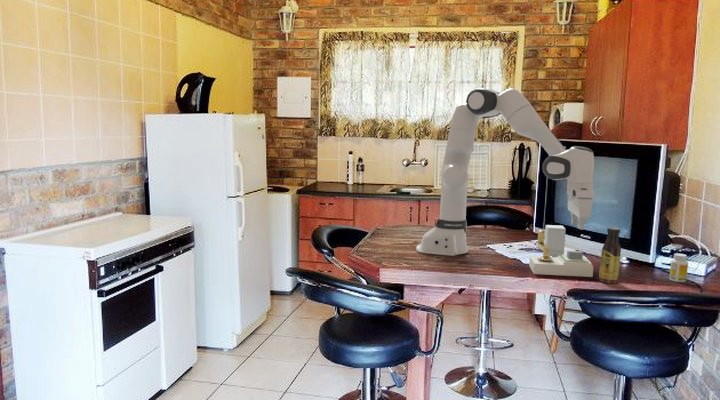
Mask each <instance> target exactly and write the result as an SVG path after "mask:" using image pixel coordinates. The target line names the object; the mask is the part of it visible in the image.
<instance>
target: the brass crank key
mask: <svg viewBox="0 0 720 400" xmlns="http://www.w3.org/2000/svg"><path fill="white" fill-rule="evenodd" d="M537 233H538V234H537V247H538V248H539V249H540V250H541V251H543V254H542V256H539V257H540V260H541V261H546V262H549V261H551V258H550V257H549V249H550V247H548V246H547V245H545V244H544V241H545V229H544V230H543V229H539V230H538V232H537Z"/></svg>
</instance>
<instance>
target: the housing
mask: <svg viewBox="0 0 720 400" xmlns="http://www.w3.org/2000/svg"><path fill="white" fill-rule="evenodd" d="M540 257H541V256H531V255H530V256H529V265H528V267H529V268H530V270H531V271H532V273H533V275H546V276H548V275H549V276H550V275H551V276H566V277H584V278H585V277H586V278H587V277H588V278H593V277H594V275H593V274H594V266H593V263H592V262H591V261H590V260H589V259H588V258H587V256H583V257H584V258H585V259H587V260H588V263H580V262H565V261H564V260H563V259H562V258H561V256H559V255H558V258H556V257H550V258H551V261H549V262H546V261H541V260H540Z"/></svg>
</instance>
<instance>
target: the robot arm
mask: <svg viewBox="0 0 720 400" xmlns="http://www.w3.org/2000/svg"><path fill="white" fill-rule="evenodd" d="M500 115H501V116H502V117H504V119H505V121H506V122H507V123H508V125H509V127H511V129H512V130H513V131H515V133H516V134H517V135H519V136H522V137H526V138H528V139H531V140H533V141H536V143H538V144H539V145H540V146H541V147H542V148H543V149H544V151H545V152H546V153H547V154H548V156H547V157H546V158H545V159H544V161H543V163H542V168H541V169H542V173H543V174H544V176H545V177H546V178H547V179H549V180H553V181H558V180H567V184H566V186H567V187H566V195H568V199H567V210H568V211H569V212H570V216H571V217H570V218H571V224H572V225H577V228H578V229H579V230H585V229H584V228H585V224H586V220H589V219H590V218H591V217H592V216H591V215H592V210H593V204H594V203H593V199H594V198H595V195H596V192H595V191H594V180H593V175H594V170H595V156H594V151H593V150H592V149H590V147H586V146H580V145H579V146H578V145H574V146H571V147H570V148H569V149H568V148H566V147H565V146H564V145H563V144H562V142H561V141H560V140H559V139H558V138H557V136H556V135H555V134H554V133H553V132H552V130H551V129H550V128H549V127H548V126H547V125H546V123H545V122H544V121H543V119H542V118H541V116H540V115H539V114H538V112H537V111H536V110H535V108H534V107H533V106H532V104H531V103H530V101H529V100H528V99H527V98H526V97H525V95H523V93H522V92H520V91H519V90H518V89H516V88H508V89H505V90H504V91H502V92H499V91H496V90H494V89H490V88H483V87H479V88H475V89H473V90H471V91H470V92H469V93H468V95H467V96H466V100H465V102H464V103H460V104H458V105H456V107H455V110H454V112H453V115H452V117H451V121H450V126H449V131H448V135H447V142H446V146H445V151H444V157H443V161H442V168H441V172H440V173H441V174H440V175H441V180H440V181H441V185H440V187H441V188H440V201H439V202H440V205H439V217H434V220H433V222H434V227H432V228H431V229H429V230H428V231H427V232H425V233H424V234H423V236H422V239H421V242H420V243H419V244H418V245H416V248H415V250H416V252H418V253H420V254H431V255H439V256H453V257H454V256H458V255H463V254H466V253H468V252H469V249H468V244H467V237H466V236H467V234H466V232H467V226H468V225H467V224H468V222H467V221H468V220H467V219H466V218H467V217H466V216H467V198H468V186H469V185H468V184H469V173H468V169H469V166H470V165H469V164H470V162H471V156H472V154H473V148H474V143H475V139H476V132H477V129H478V125H479V121H480V120H481V119H489V118H494V117H497V116H500Z"/></svg>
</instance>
